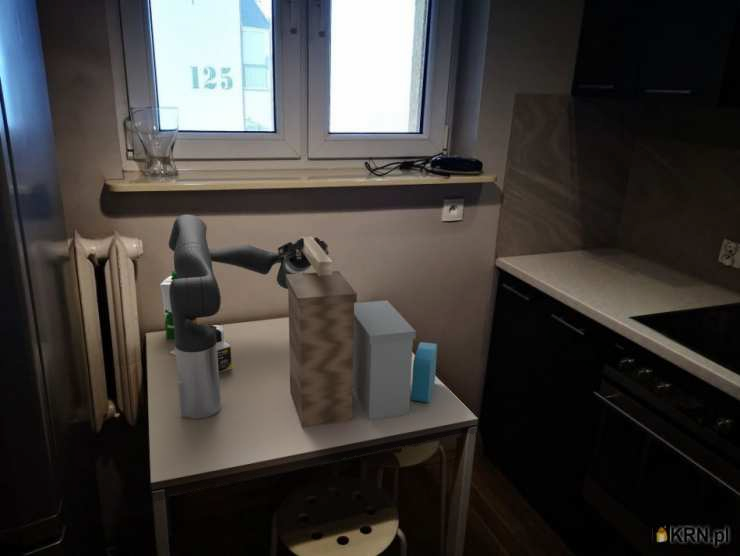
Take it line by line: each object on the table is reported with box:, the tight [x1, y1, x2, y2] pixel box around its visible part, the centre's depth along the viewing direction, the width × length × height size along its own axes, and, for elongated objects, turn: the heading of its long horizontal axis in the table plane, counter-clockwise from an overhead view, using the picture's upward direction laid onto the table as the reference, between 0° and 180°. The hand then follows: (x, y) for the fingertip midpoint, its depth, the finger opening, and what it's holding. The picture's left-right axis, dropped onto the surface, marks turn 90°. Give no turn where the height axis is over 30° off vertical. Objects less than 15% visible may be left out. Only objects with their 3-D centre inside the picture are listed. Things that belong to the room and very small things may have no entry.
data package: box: [410, 341, 438, 404], centre depth 145 cm, size 12×4×12 cm, turn 166°
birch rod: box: [299, 236, 333, 276], centre depth 131 cm, size 3×22×3 cm, turn 17°
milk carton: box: [159, 270, 180, 340], centre depth 173 cm, size 9×9×20 cm
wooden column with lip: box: [286, 270, 358, 428], centre depth 133 cm, size 13×16×32 cm
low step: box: [352, 300, 417, 421], centre depth 140 cm, size 11×20×22 cm, turn 17°
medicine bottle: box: [207, 324, 233, 373], centre depth 154 cm, size 7×7×12 cm
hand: (309, 241), depth 137 cm, fingers closed on birch rod, 3 cm apart
